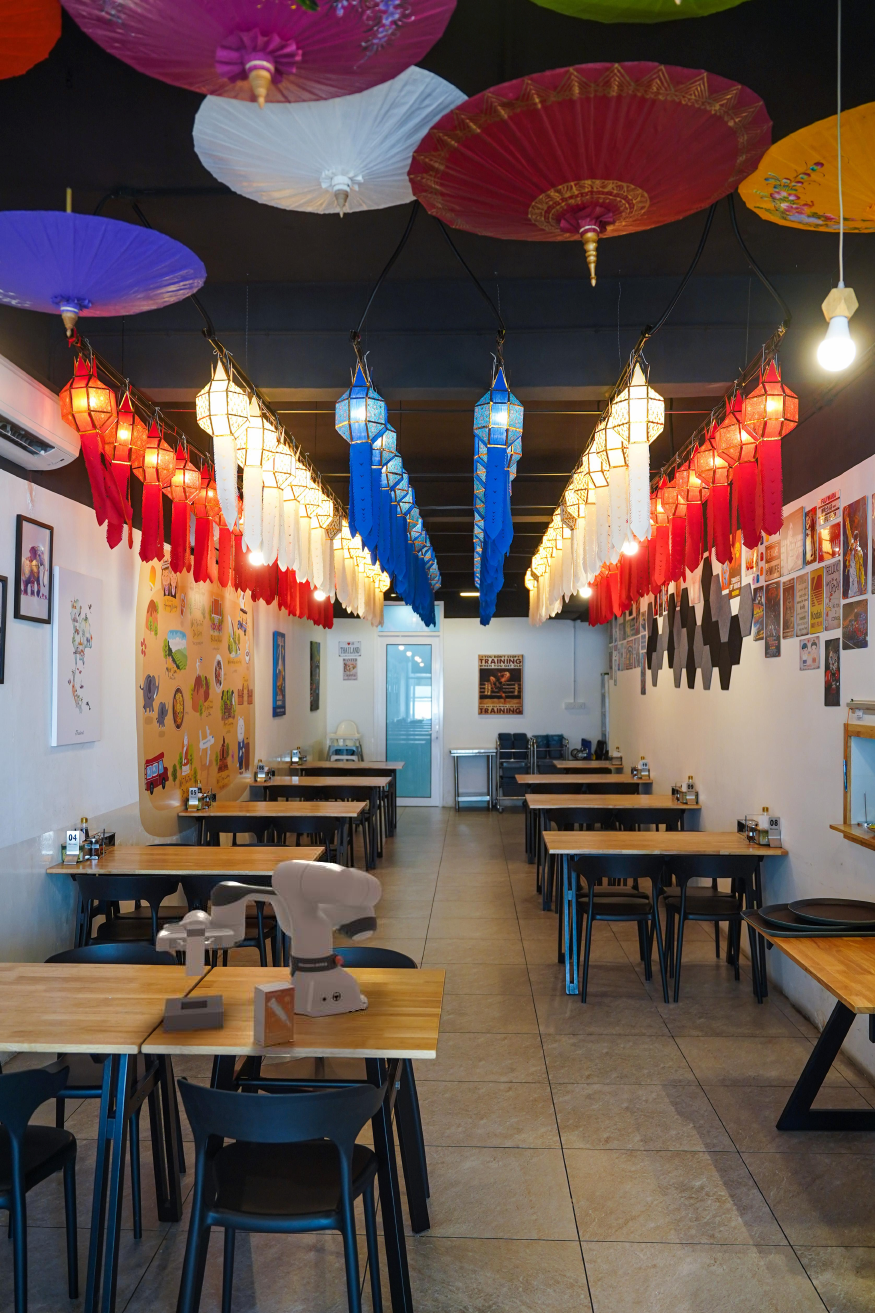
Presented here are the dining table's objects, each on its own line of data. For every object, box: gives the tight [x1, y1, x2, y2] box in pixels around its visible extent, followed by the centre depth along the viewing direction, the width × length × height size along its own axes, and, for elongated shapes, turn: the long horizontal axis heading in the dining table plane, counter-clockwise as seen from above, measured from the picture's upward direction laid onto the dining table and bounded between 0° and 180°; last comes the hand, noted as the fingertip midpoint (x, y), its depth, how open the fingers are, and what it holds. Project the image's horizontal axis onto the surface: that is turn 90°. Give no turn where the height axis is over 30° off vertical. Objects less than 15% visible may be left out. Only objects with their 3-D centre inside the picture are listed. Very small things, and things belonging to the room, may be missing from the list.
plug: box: [185, 924, 206, 977], centre depth 232 cm, size 5×5×12 cm
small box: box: [252, 980, 295, 1048], centre depth 216 cm, size 8×6×13 cm
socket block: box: [162, 994, 225, 1033], centre depth 231 cm, size 15×15×4 cm
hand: (195, 947), depth 231 cm, fingers closed on plug, 5 cm apart
